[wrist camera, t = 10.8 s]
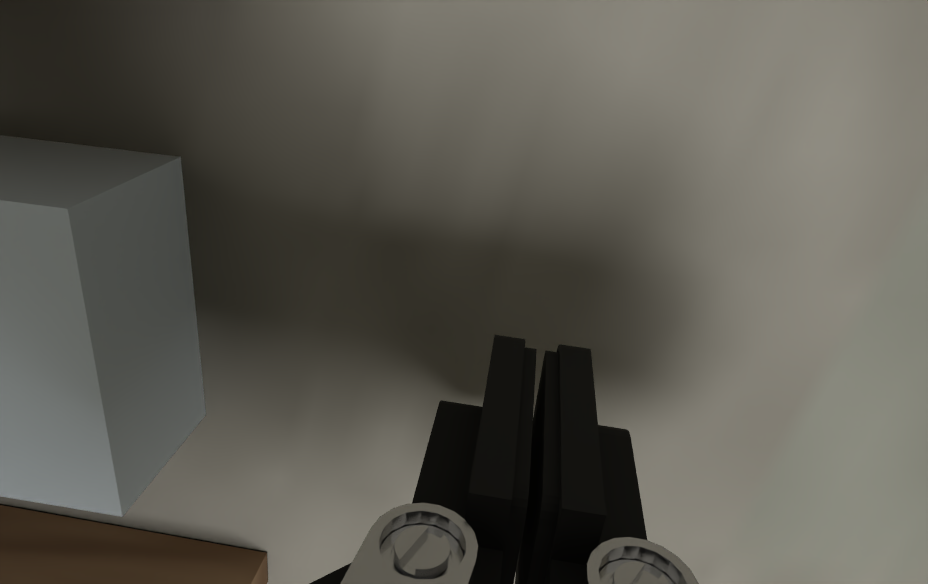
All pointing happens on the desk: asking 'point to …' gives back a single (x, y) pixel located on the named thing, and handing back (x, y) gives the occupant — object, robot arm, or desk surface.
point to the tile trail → (93, 323)
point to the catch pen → (114, 554)
